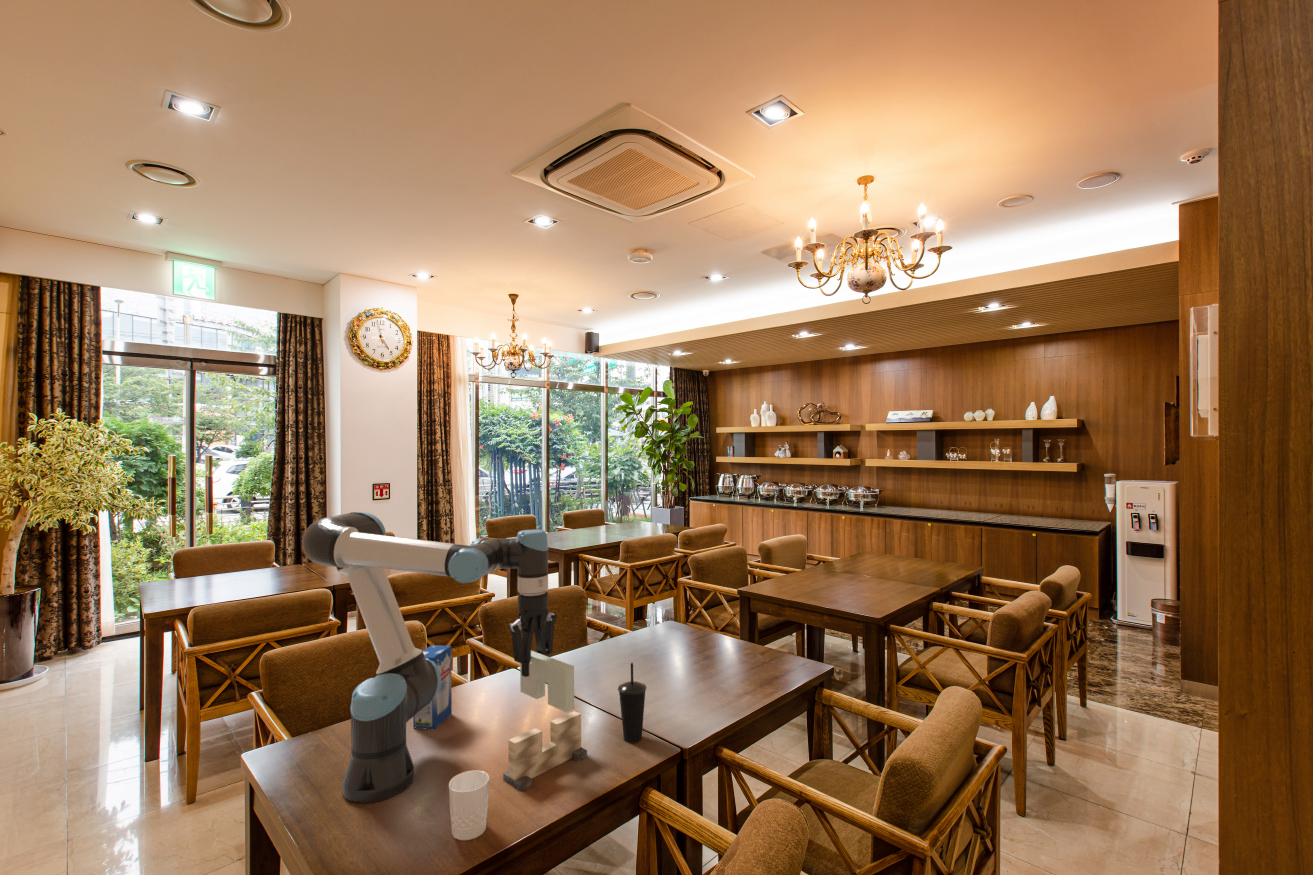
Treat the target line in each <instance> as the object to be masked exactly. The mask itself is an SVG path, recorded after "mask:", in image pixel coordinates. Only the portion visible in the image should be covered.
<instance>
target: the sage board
mask: <svg viewBox="0 0 1313 875" xmlns="http://www.w3.org/2000/svg"><path fill="white" fill-rule="evenodd" d="M530 662H532V663H533V690H529V689H526V688H524V676H522V664H521V663H520V666H519V667H520V672H519V673H520V680H519V681H520V684H519V686H520V693H523V694H524V695H527V696H528V697H531V698H533V699H536V700H539V699H540V698H543V697H546V684H547V705H549V706H550V707H554V708H555V709H558V710H560V711H562V712H564V713H568V712H570V711H572V710H573V711H574V710H575V667H574V665H572V664H569V663H567V662H564V661H561V660H559V659H556V658H553V657H550V656H549V655H548V656H545V655H542V654H540V653H537V651H534V650H531V657H530Z"/></svg>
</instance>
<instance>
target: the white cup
mask: <svg viewBox="0 0 1313 875" xmlns="http://www.w3.org/2000/svg"><path fill="white" fill-rule="evenodd" d="M489 786H490V775H489V774H488V773H487V772H486V771H483V770H475V769H474V770H467V771H463V772H460V773H458V774H456V775H455V776H453V777H451V779H450V781H449V782H448V796H449V798H448V799H449V811H450V813H449V814H450V815H449V816H450V822H451V823H450V824H451V835H452V836H453V838H454V839H455V840H459V841H470V840H474V839H477V838H478V837H480V836H481V835H483V833H484V832H485V831H486V829H487V817H488V811H489V810H488V809H489V808H488V807H489V793H490V792H489V790H490V787H489Z"/></svg>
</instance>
